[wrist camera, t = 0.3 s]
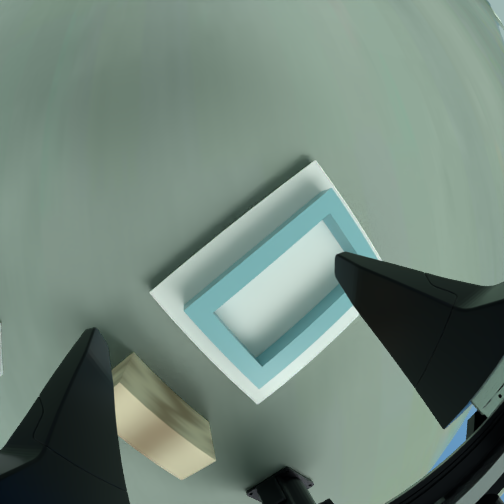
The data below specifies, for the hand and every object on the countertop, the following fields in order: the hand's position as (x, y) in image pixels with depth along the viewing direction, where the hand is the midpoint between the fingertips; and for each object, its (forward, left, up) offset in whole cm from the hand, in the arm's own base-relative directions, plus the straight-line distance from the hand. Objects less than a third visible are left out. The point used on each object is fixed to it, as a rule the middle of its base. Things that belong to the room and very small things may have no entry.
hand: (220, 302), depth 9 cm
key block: (-7, +11, -14) cm, 19 cm away
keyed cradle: (-6, -5, -14) cm, 16 cm away
